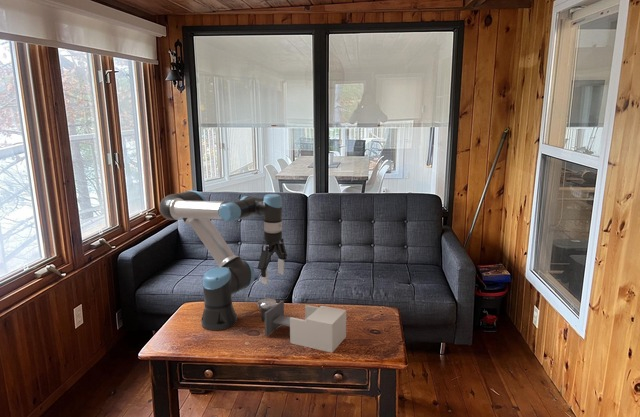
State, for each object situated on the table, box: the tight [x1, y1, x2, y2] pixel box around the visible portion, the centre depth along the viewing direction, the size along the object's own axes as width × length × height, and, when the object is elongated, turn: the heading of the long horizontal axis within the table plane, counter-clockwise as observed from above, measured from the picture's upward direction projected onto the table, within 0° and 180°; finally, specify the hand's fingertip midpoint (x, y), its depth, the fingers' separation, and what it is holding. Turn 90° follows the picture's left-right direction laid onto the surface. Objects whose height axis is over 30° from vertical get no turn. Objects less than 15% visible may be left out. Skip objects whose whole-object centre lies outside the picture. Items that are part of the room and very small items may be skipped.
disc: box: [257, 297, 277, 310], centre depth 193 cm, size 8×8×2 cm
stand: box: [260, 309, 268, 322], centre depth 194 cm, size 6×6×6 cm
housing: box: [289, 304, 347, 354], centre depth 174 cm, size 18×14×12 cm
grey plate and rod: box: [264, 300, 292, 337], centre depth 179 cm, size 18×14×10 cm
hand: (273, 278), depth 190 cm, fingers open, 13 cm apart
